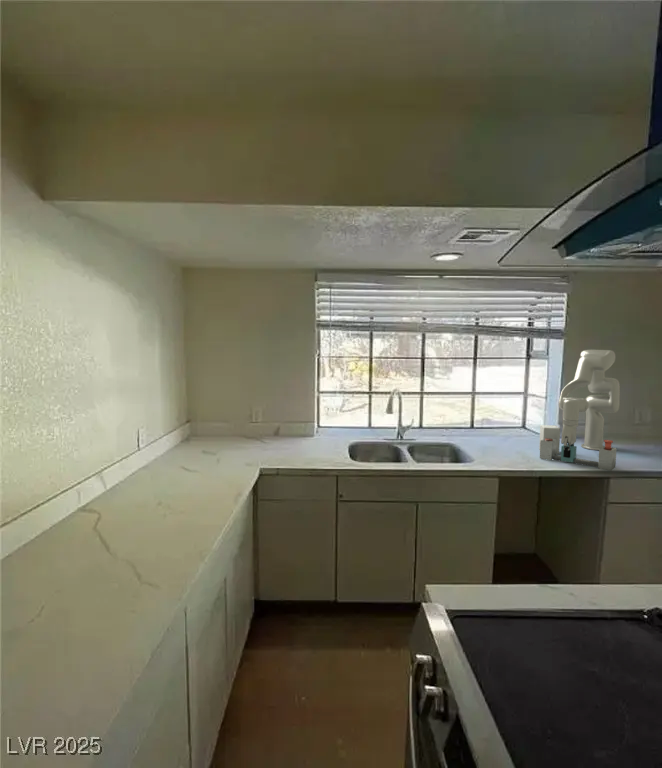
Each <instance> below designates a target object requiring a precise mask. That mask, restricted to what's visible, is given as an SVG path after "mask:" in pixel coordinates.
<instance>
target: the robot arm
mask: <svg viewBox="0 0 662 768" xmlns="http://www.w3.org/2000/svg"><path fill="white" fill-rule="evenodd" d="M615 361H616V353H615V351H614V350H610V349H584V350H582V351H581V352H580V357H579V359H578V362H577V367H576V370H575V374H574V377H573V379H572V380H571V381H569V382H568V383H567V384H566V385H565V386H564V387H563V388H562V390H561V391H560V392H561V393H560V396H559V399H558V407H559V409H560V410H562V431H561V437H560V443H561V444H562V445H564V454H563V457H566V458H570V452H571V450H570V445H571V446H575V443H576V442H577V428H578V427H579V419H580V418H579V416H580V415H579V414H580V413H584V412H585V425H584V442H583V443H581V445H580V447H581V448H583V449H586V450H594V451H599V449H600V448H601V447H603V446H604V445H603V444H604V426H605V417H604V416H603V414H602V413H608V414H613V413H615V414H616V413H617V412H618V411H619V410H620V390H621V388H620V385H621V384H620V381H619V380H618V379H617V378H613V377H606V376H605V375H606V374H605V372H606V371H607V370H609V369H610V368H611V367H612V365H613V364H615ZM585 387H587V389H588V391H589V393H592V394H590V395H588V396H586V397H585V398H583V397H574V396H573V397H571V396H569V394H570V393H572V392H573V391H575V390H579V389H581V388H585ZM600 394H601V395H600ZM567 445H568V446H569V447H568V446H567Z"/></svg>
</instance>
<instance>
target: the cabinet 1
mask: <svg viewBox="0 0 662 768" xmlns="http://www.w3.org/2000/svg"><path fill="white" fill-rule="evenodd" d="M539 443H540V450H539V459H540V458H541V460H546V459H547V461H553V460H552V459H553V456H554V455H557V454H556V450H557V440H556V439H551V438H545V439H542V440H540V439H539Z"/></svg>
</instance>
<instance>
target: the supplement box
mask: <svg viewBox="0 0 662 768" xmlns="http://www.w3.org/2000/svg"><path fill="white" fill-rule="evenodd" d="M539 428H540V429H539V441H540V440H542V439H545V438H551V439H556V440H557V450H556V455H559V454H560V443H561V427H560V426H559V427H558V426H557V425H555V424H553V425H551V424H549V425H548V424H547V425H546V424H540V425H539ZM538 447H539V448H538V449H539V451H540V442H539V446H538Z"/></svg>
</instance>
